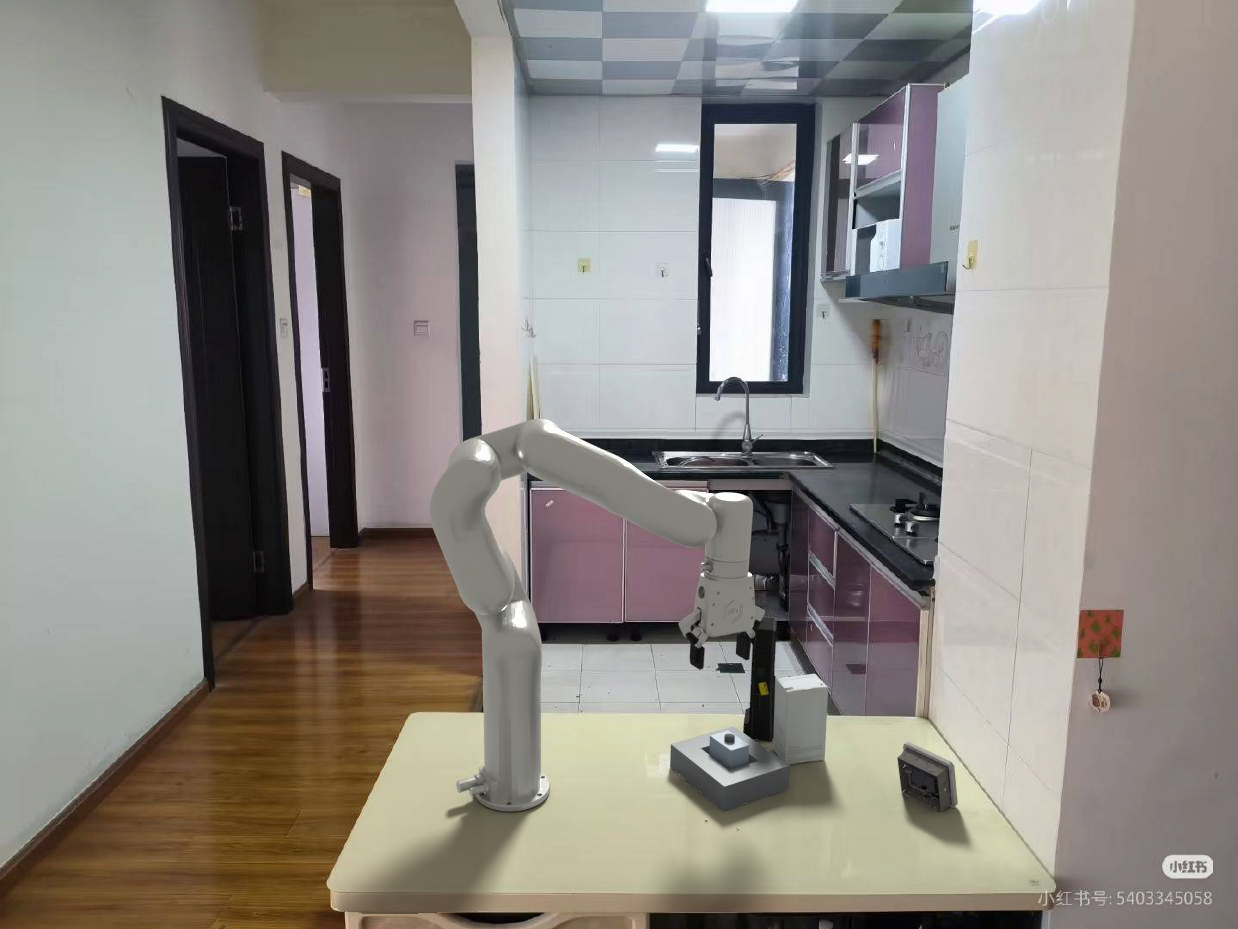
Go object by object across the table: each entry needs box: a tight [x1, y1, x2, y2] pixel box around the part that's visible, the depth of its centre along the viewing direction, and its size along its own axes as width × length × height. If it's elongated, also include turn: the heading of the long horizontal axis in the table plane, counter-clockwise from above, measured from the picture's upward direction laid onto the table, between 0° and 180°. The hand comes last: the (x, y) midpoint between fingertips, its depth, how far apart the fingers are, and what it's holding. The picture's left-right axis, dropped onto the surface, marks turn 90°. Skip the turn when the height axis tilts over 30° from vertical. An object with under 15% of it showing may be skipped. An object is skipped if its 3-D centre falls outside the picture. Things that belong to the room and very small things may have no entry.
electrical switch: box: [896, 741, 959, 814], centre depth 152 cm, size 9×5×9 cm, turn 38°
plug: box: [709, 730, 749, 770], centre depth 158 cm, size 4×6×7 cm, turn 31°
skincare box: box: [772, 673, 829, 765], centre depth 165 cm, size 8×6×15 cm
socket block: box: [669, 726, 791, 812], centre depth 159 cm, size 14×16×4 cm
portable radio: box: [742, 604, 778, 742], centre depth 172 cm, size 8×6×25 cm
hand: (719, 662), depth 155 cm, fingers open, 9 cm apart
